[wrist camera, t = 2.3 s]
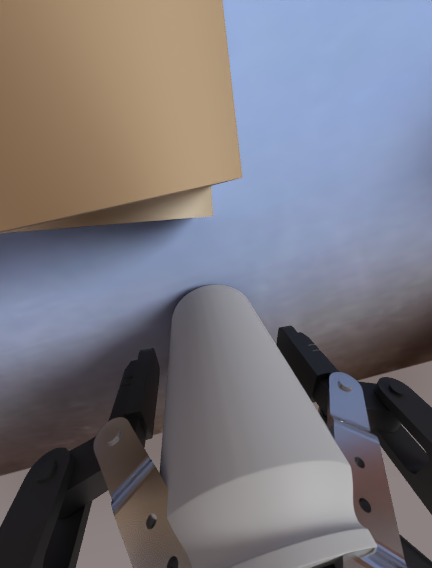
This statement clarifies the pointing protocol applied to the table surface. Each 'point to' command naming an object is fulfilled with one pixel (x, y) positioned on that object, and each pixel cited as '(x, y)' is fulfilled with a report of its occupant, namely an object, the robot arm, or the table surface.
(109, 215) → the tower base
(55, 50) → the tower top
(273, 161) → the table surface
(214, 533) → the beverage can
